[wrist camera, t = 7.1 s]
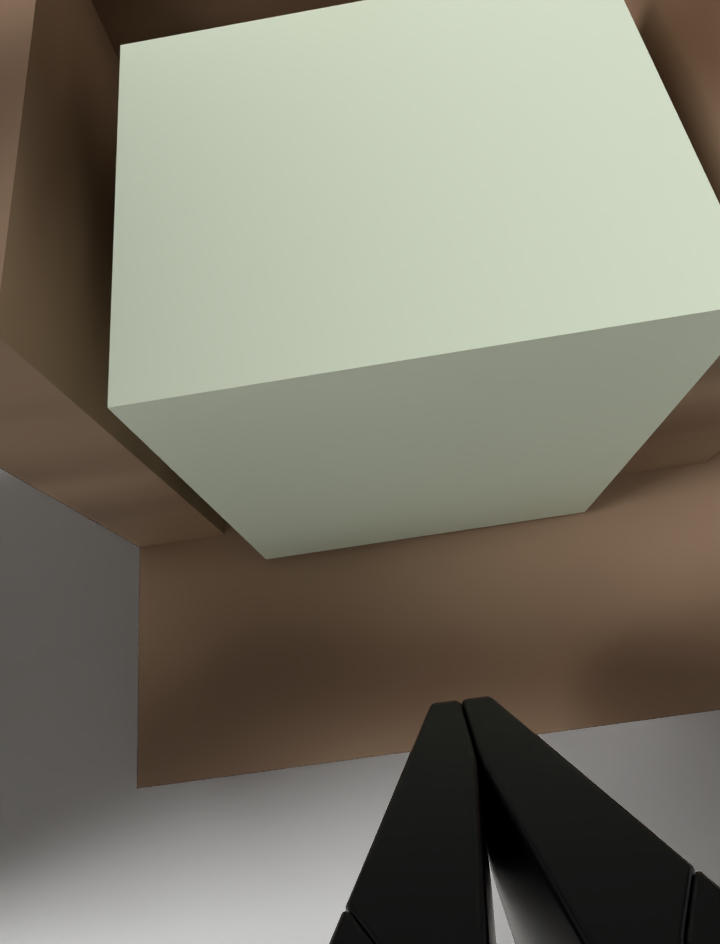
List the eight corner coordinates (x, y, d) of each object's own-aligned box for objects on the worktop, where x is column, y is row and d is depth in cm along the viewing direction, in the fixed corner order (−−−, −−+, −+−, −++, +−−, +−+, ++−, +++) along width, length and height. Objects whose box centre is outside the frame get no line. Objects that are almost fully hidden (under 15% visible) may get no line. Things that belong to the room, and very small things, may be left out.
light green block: (584, 512, 13) (766, 302, 6) (266, 559, 13) (107, 407, 6) (521, 288, 15) (603, -44, 8) (250, 332, 15) (120, 45, 9)
